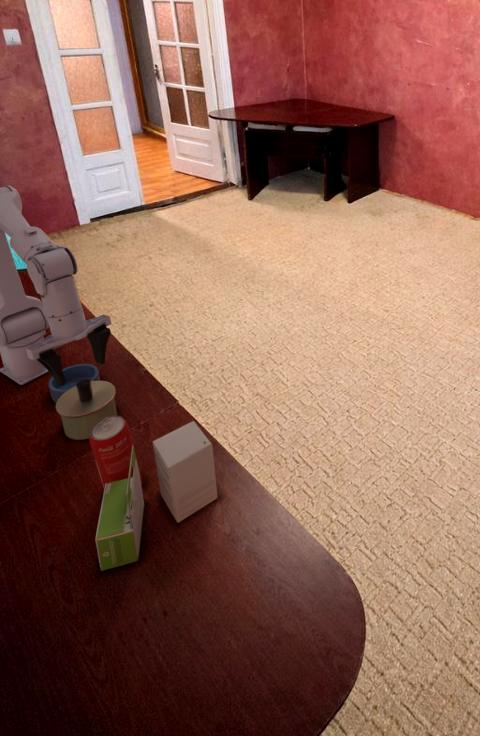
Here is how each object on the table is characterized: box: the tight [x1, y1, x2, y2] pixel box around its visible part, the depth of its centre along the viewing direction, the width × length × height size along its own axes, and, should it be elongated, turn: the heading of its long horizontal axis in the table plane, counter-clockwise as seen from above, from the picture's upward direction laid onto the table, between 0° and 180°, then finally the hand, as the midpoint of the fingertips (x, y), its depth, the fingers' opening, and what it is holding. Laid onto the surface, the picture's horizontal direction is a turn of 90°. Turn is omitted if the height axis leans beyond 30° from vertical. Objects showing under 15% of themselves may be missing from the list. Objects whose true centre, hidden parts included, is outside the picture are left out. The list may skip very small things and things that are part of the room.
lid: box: [55, 379, 117, 418], centre depth 97 cm, size 10×10×5 cm
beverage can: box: [88, 415, 143, 490], centre depth 83 cm, size 6×6×15 cm
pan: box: [48, 363, 101, 404], centre depth 107 cm, size 9×9×4 cm
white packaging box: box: [152, 420, 218, 524], centre depth 83 cm, size 7×7×13 cm
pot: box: [60, 397, 118, 441], centre depth 98 cm, size 9×9×6 cm
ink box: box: [95, 444, 145, 572], centre depth 75 cm, size 10×5×14 cm, turn 22°
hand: (81, 372), depth 96 cm, fingers open, 7 cm apart
